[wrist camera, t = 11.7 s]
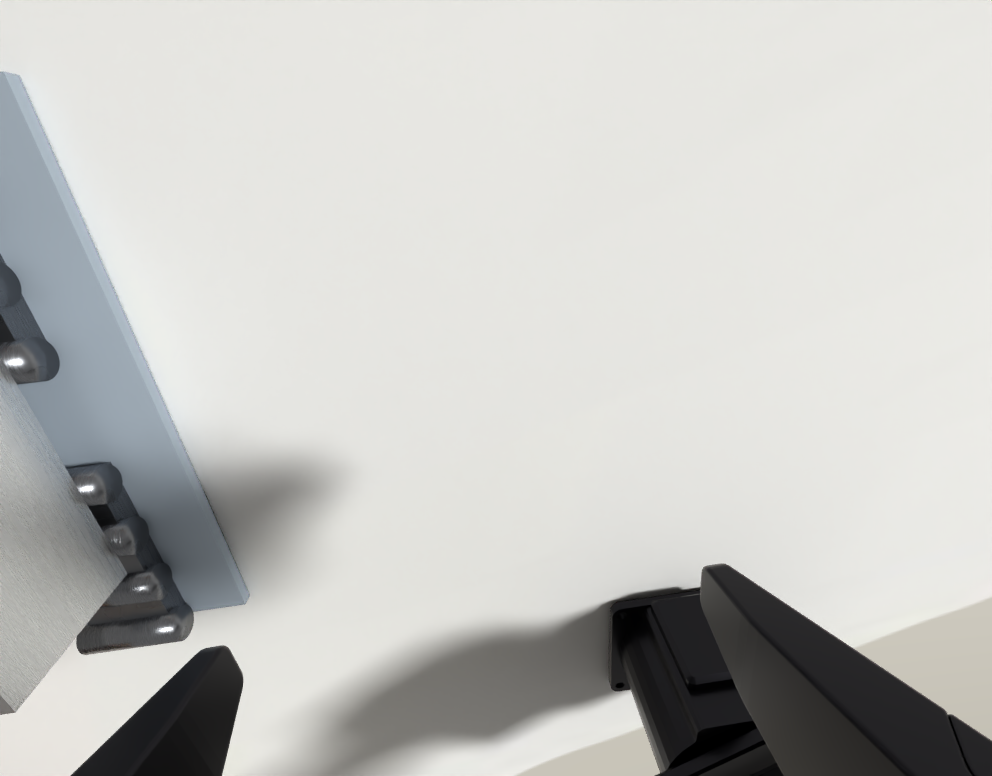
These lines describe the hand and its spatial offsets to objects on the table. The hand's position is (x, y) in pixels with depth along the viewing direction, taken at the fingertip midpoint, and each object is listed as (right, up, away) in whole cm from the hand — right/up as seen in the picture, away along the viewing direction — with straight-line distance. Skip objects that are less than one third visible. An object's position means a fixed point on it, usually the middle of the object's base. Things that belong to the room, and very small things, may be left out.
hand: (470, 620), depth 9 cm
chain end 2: (-15, -2, +10) cm, 18 cm away
